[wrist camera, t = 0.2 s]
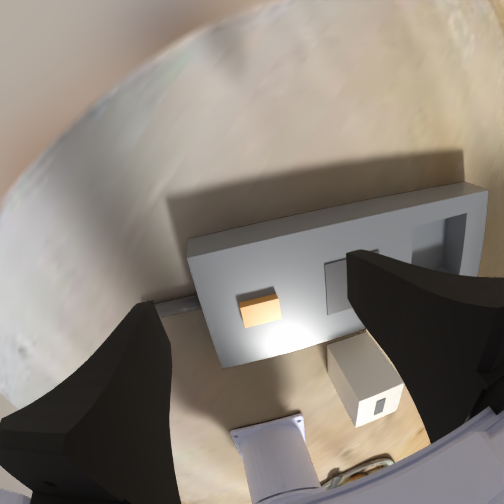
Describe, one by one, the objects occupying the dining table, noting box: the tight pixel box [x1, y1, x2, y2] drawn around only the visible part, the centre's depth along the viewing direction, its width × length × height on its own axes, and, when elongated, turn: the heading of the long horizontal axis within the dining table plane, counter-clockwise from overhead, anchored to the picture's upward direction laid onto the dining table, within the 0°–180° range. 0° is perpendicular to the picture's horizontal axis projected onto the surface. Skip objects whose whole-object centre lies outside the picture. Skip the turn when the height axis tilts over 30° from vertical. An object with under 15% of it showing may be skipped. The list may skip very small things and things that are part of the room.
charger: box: [327, 332, 404, 428], centre depth 24 cm, size 4×4×7 cm
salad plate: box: [321, 458, 394, 491], centre depth 42 cm, size 19×18×5 cm
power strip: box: [154, 182, 489, 369], centre depth 21 cm, size 28×9×4 cm, turn 100°
